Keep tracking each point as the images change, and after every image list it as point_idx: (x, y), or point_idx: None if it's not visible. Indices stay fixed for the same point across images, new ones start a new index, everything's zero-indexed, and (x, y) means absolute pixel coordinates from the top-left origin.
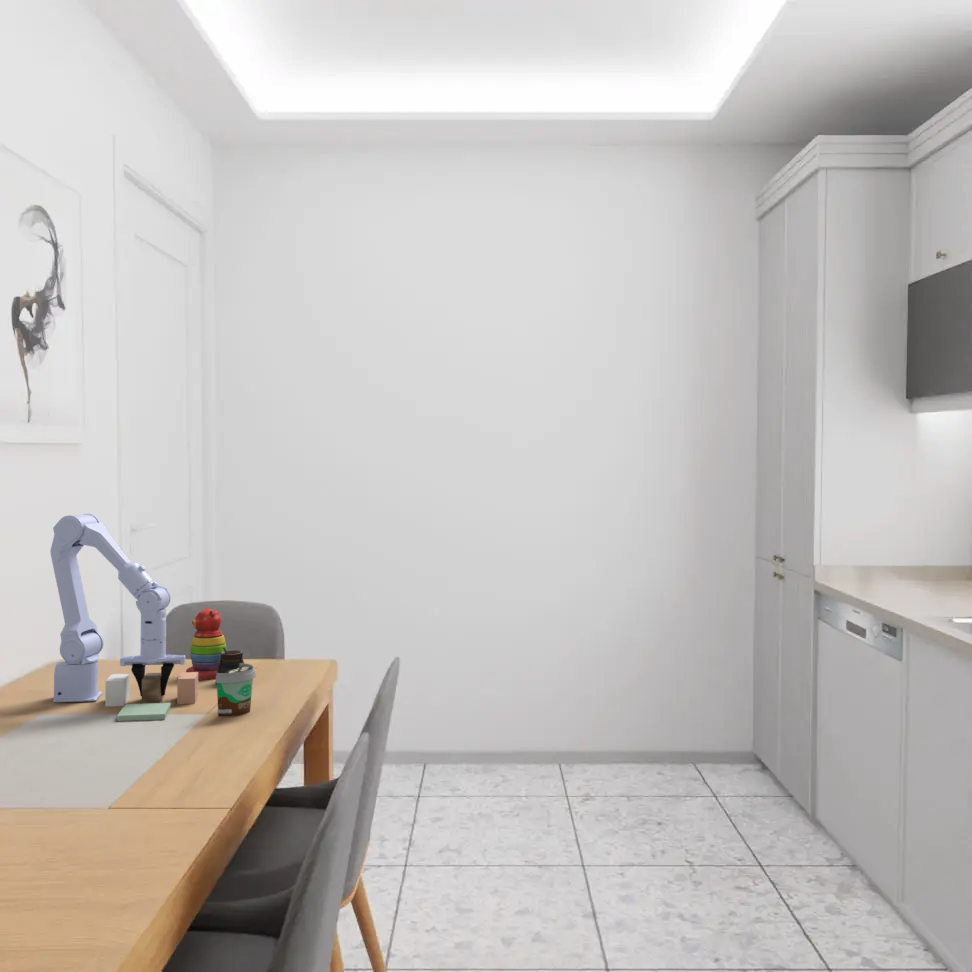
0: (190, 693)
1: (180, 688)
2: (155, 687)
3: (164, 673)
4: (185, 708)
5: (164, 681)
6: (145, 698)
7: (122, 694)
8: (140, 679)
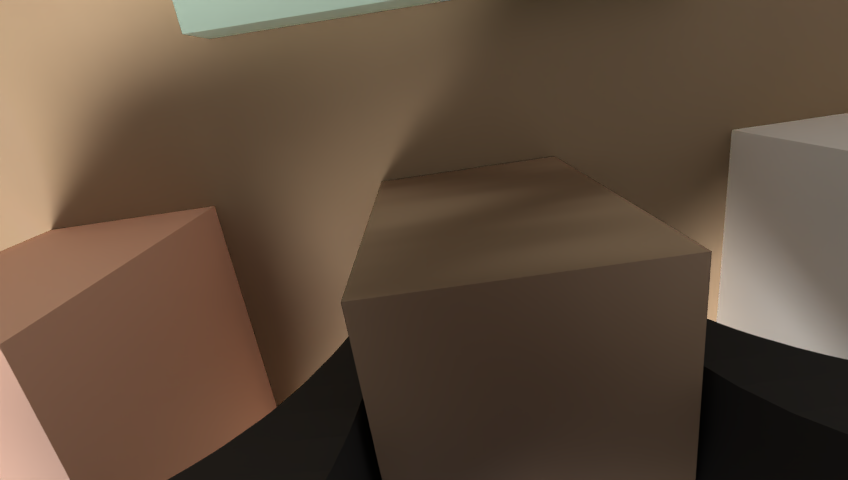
0: (9, 262)
1: (77, 272)
2: (423, 233)
3: (260, 474)
4: (38, 15)
5: (321, 389)
6: (532, 175)
7: (845, 148)
8: (731, 360)
